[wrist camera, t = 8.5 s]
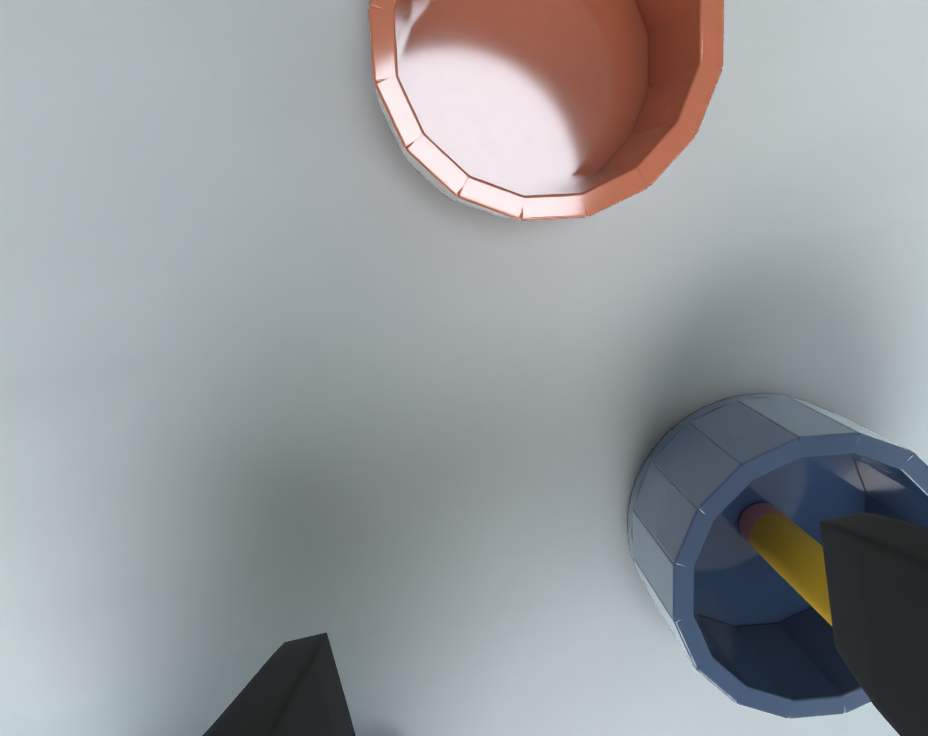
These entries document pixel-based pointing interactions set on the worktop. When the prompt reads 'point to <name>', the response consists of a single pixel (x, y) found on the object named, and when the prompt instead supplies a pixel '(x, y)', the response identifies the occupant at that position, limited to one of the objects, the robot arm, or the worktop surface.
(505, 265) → the worktop surface
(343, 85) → the worktop surface
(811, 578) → the pencil
